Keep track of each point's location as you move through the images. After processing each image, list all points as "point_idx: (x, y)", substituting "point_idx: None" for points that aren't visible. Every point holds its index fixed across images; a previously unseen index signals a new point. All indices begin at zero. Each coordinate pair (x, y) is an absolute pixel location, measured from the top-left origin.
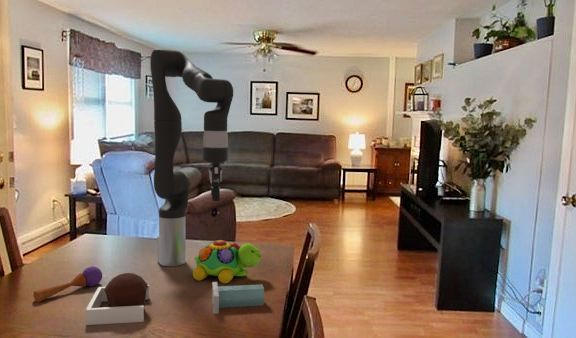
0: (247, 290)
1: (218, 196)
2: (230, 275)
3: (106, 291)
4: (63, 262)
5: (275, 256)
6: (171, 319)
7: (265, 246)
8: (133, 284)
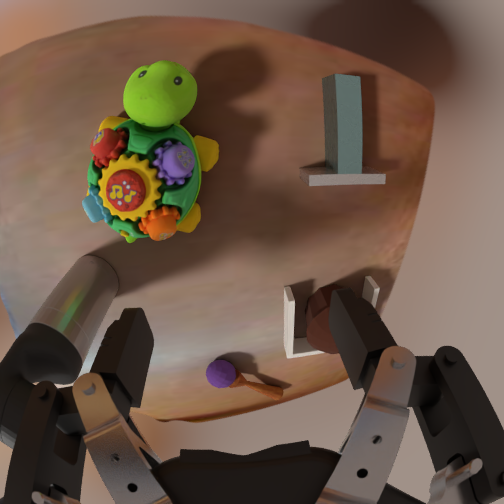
0: (360, 111)
1: (360, 309)
2: (213, 141)
3: None
4: None
5: (40, 66)
6: (373, 240)
7: None
8: None
